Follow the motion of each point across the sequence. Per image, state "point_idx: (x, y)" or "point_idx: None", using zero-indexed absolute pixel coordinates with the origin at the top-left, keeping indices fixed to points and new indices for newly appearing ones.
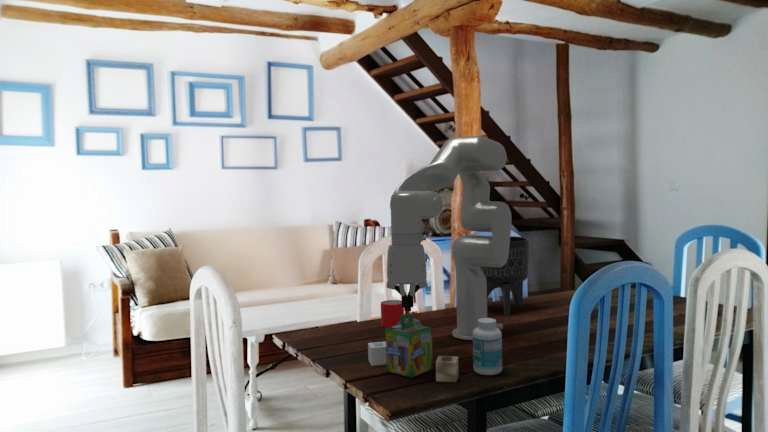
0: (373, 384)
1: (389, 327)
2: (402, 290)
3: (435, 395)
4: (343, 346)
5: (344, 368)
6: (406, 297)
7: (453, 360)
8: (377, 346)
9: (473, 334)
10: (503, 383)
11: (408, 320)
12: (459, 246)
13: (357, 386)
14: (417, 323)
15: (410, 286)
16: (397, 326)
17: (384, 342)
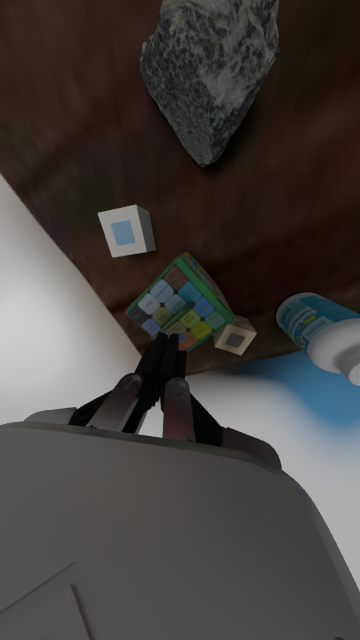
0: (139, 326)
1: (133, 305)
2: (129, 429)
3: (201, 363)
4: (25, 53)
5: (88, 260)
6: (155, 401)
7: (241, 346)
8: (123, 248)
9: (311, 349)
10: (288, 351)
11: (210, 22)
12: None
13: (122, 329)
14: (249, 37)
15: (167, 425)
16: (151, 301)
17: (134, 214)
